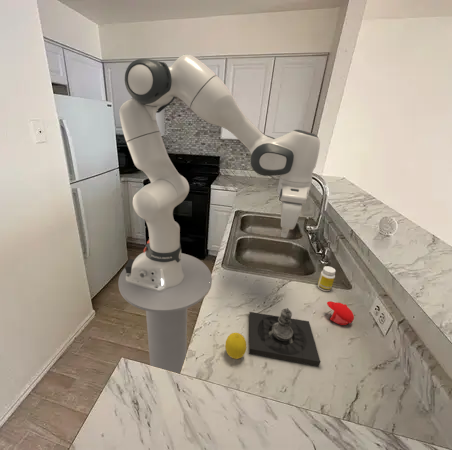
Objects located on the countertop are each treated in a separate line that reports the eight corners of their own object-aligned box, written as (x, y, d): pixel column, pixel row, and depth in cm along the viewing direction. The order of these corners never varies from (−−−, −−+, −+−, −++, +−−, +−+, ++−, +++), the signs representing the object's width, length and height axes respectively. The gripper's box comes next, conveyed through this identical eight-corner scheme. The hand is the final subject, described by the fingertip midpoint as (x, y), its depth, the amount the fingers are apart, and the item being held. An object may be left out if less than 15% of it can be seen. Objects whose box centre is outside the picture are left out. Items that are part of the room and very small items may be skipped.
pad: (249, 353, 70) (250, 348, 70) (248, 316, 83) (249, 311, 82) (318, 366, 67) (320, 361, 66) (307, 325, 80) (309, 321, 79)
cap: (350, 316, 83) (355, 302, 81) (352, 330, 78) (358, 315, 76) (323, 309, 86) (327, 295, 83) (323, 321, 81) (328, 307, 78)
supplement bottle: (333, 291, 94) (339, 273, 90) (320, 291, 94) (326, 273, 90) (327, 283, 98) (332, 265, 95) (314, 283, 98) (320, 265, 95)
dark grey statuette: (268, 343, 73) (275, 312, 68) (271, 328, 78) (277, 298, 73) (290, 350, 71) (299, 319, 66) (291, 334, 76) (299, 304, 71)
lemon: (240, 368, 66) (243, 347, 63) (220, 358, 69) (223, 337, 65) (247, 353, 71) (251, 332, 67) (229, 343, 73) (231, 323, 70)
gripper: (282, 179, 85) (274, 217, 91) (281, 196, 68) (272, 242, 73) (302, 181, 84) (293, 220, 89) (307, 200, 66) (295, 246, 72)
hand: (283, 230), depth 81 cm, fingers open, 8 cm apart
